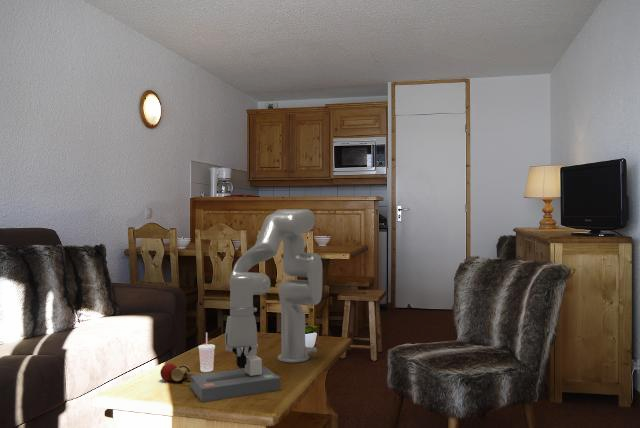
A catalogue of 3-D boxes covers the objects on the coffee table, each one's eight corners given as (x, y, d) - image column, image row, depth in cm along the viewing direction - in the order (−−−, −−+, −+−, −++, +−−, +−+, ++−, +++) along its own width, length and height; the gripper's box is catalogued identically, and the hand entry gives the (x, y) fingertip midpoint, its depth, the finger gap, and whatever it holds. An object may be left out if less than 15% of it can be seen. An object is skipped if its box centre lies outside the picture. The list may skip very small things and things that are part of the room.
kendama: (213, 382, 193) (165, 373, 195) (215, 365, 191) (166, 357, 194) (205, 392, 185) (156, 383, 188) (207, 375, 184) (156, 366, 186)
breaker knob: (255, 369, 187) (255, 355, 187) (261, 374, 181) (261, 359, 181) (244, 371, 185) (244, 356, 185) (250, 375, 180) (250, 360, 180)
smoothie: (244, 374, 197) (244, 335, 197) (238, 369, 203) (238, 332, 203) (260, 371, 200) (260, 333, 200) (254, 367, 206) (254, 330, 206)
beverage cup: (211, 372, 199) (211, 334, 199) (195, 372, 200) (195, 334, 200) (217, 368, 205) (217, 331, 205) (202, 367, 206) (202, 330, 206)
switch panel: (260, 374, 196) (260, 363, 196) (280, 389, 179) (280, 377, 179) (188, 384, 185) (188, 372, 185) (201, 402, 168) (201, 388, 168)
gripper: (259, 309, 188) (259, 362, 188) (216, 312, 182) (216, 367, 182) (266, 312, 182) (266, 367, 181) (222, 315, 175) (222, 372, 175)
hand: (241, 367), depth 181 cm, fingers closed
